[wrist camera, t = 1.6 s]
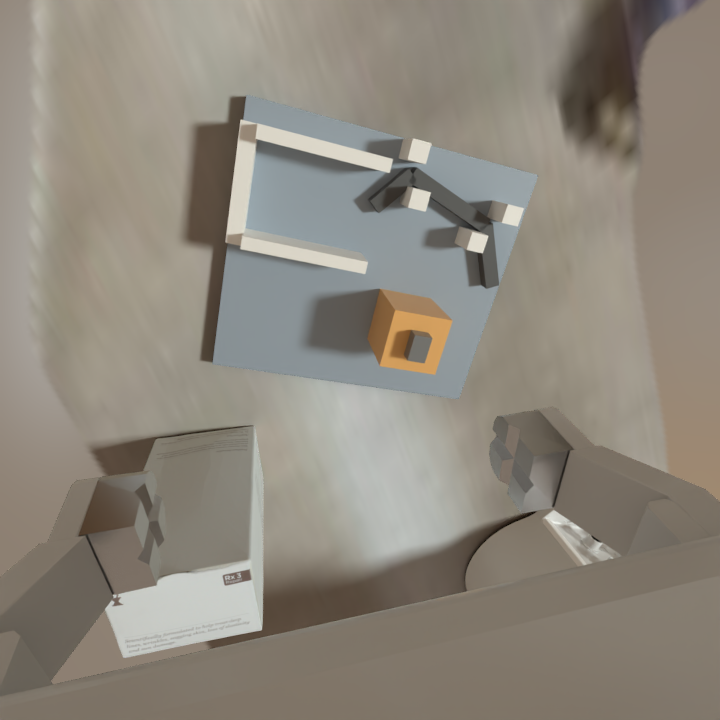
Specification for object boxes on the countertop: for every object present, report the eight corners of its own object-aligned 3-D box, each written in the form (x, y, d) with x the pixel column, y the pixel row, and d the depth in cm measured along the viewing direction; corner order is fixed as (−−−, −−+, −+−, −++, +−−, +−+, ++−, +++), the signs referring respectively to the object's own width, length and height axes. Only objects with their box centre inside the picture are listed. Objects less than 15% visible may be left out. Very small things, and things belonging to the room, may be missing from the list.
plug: (430, 298, 35) (457, 325, 30) (416, 346, 37) (439, 381, 31) (380, 288, 34) (398, 315, 29) (367, 338, 36) (382, 372, 30)
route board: (531, 174, 34) (561, 178, 30) (454, 393, 40) (471, 418, 37) (247, 96, 29) (242, 89, 25) (214, 358, 36) (206, 382, 32)
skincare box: (170, 492, 40) (114, 665, 27) (153, 432, 37) (83, 591, 24) (269, 479, 41) (264, 639, 28) (260, 420, 38) (249, 566, 25)
